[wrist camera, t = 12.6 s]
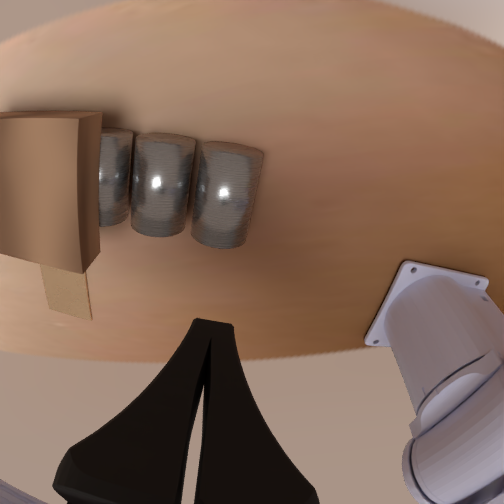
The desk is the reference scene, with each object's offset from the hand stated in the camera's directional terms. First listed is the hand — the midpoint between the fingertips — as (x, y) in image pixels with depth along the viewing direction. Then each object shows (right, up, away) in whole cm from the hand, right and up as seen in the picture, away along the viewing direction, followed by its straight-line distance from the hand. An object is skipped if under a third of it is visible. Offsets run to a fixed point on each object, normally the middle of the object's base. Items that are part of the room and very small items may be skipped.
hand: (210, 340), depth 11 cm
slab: (-12, +7, +4) cm, 14 cm away
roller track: (-9, +4, +9) cm, 13 cm away
